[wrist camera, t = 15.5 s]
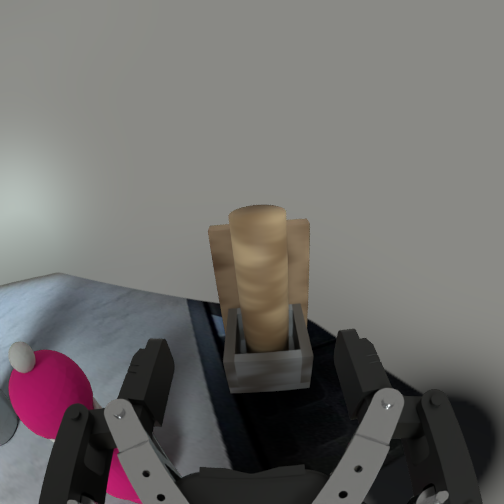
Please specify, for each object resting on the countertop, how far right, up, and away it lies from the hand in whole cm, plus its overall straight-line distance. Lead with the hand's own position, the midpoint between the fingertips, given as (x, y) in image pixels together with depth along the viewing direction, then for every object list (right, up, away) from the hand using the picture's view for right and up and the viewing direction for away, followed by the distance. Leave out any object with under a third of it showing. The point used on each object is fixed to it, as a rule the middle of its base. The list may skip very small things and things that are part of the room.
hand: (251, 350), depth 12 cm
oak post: (+2, -7, +16) cm, 17 cm away
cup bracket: (+2, -11, +19) cm, 22 cm away
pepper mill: (-11, -19, +6) cm, 22 cm away
